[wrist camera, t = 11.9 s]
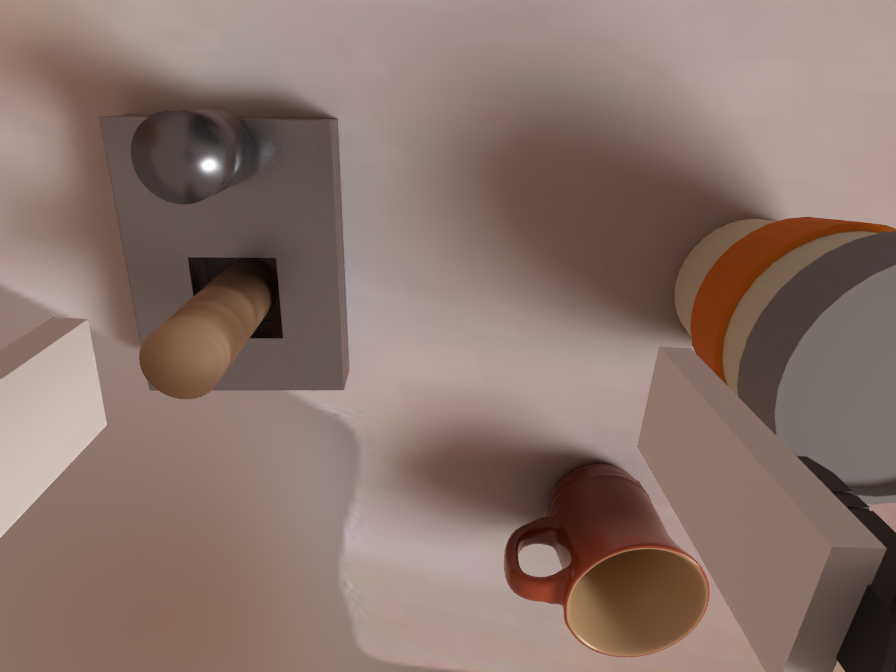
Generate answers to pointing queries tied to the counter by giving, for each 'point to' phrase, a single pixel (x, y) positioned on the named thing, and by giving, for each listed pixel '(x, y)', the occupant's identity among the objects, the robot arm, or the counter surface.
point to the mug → (611, 565)
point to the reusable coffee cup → (804, 336)
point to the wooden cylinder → (209, 330)
